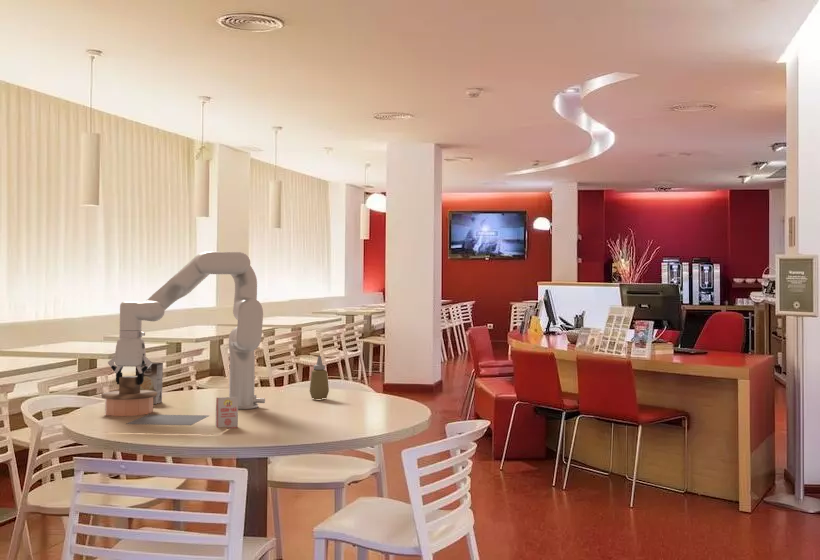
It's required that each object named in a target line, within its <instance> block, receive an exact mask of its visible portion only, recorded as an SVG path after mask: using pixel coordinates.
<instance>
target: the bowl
mask: <svg viewBox="0 0 820 560" xmlns="http://www.w3.org/2000/svg"><path fill="white" fill-rule="evenodd" d="M104 401H105V405H104V413H105V416H106V417H108V416H111V417H112V416H113V417H114V416H115V417H131V416H143V415H149V414H152V413H154V404H153V397H151V398H144V399H129V400H115V399H105V398H104Z"/></svg>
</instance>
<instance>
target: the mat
mask: <svg viewBox="0 0 820 560" xmlns="http://www.w3.org/2000/svg"><path fill="white" fill-rule="evenodd" d="M208 417H210V415H208V414H207V415H206V414H204V415H202V414H201V415H198V414H195V415H194V414H152V413H149V414H145V415H144V416H141V417H139V418H137V419H134V420H131V421H129V422H126V425H154V426H155V425H158V426H160V425H162V426H164V425H165V426H167V425H168V426H192V425H194V424H196V423H198V422H200V421H202V420H204V419H206V418H208Z"/></svg>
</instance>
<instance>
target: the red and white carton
mask: <svg viewBox="0 0 820 560" xmlns="http://www.w3.org/2000/svg"><path fill="white" fill-rule="evenodd" d="M215 399H216V402H215V427H216V428H226V427H227V428H226V429H239V425H238V424H239V420H238V419H239V409H238V397H229V396H227V397H226V396H225V397H224V396H222V397H216V398H215Z"/></svg>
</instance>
